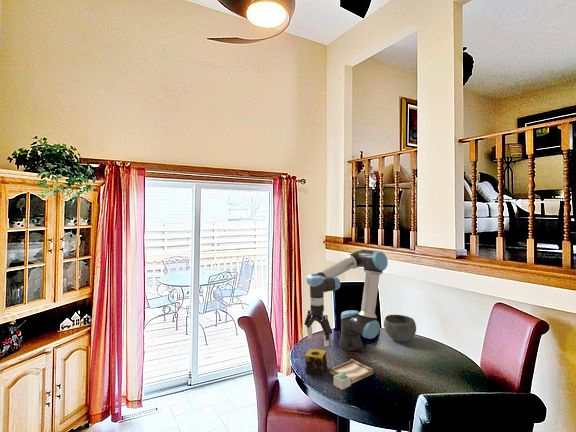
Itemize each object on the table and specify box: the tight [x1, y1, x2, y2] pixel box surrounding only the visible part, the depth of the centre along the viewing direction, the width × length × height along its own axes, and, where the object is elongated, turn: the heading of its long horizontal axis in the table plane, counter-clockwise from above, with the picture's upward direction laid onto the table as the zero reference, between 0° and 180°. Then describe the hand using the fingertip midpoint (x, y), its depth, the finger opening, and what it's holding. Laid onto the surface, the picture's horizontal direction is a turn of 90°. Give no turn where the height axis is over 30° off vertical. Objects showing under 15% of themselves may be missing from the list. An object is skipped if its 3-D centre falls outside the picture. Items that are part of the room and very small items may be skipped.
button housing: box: [333, 374, 351, 391], centre depth 164 cm, size 6×6×4 cm
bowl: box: [383, 314, 417, 343], centre depth 220 cm, size 21×21×15 cm
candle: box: [304, 348, 328, 376], centre depth 180 cm, size 10×10×10 cm
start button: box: [338, 373, 345, 380], centre depth 164 cm, size 4×4×4 cm
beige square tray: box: [328, 358, 374, 385], centre depth 176 cm, size 16×18×2 cm
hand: (318, 342), depth 179 cm, fingers open, 13 cm apart
